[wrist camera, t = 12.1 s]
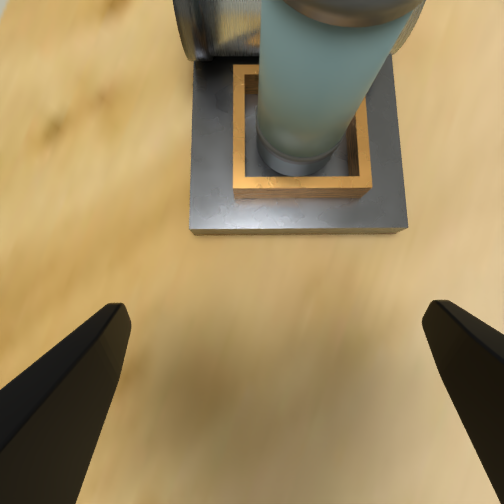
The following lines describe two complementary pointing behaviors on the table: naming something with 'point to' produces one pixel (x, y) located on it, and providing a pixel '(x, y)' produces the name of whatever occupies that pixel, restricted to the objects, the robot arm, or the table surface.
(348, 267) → the table surface
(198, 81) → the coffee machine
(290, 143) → the grey-capped teal cylinder
